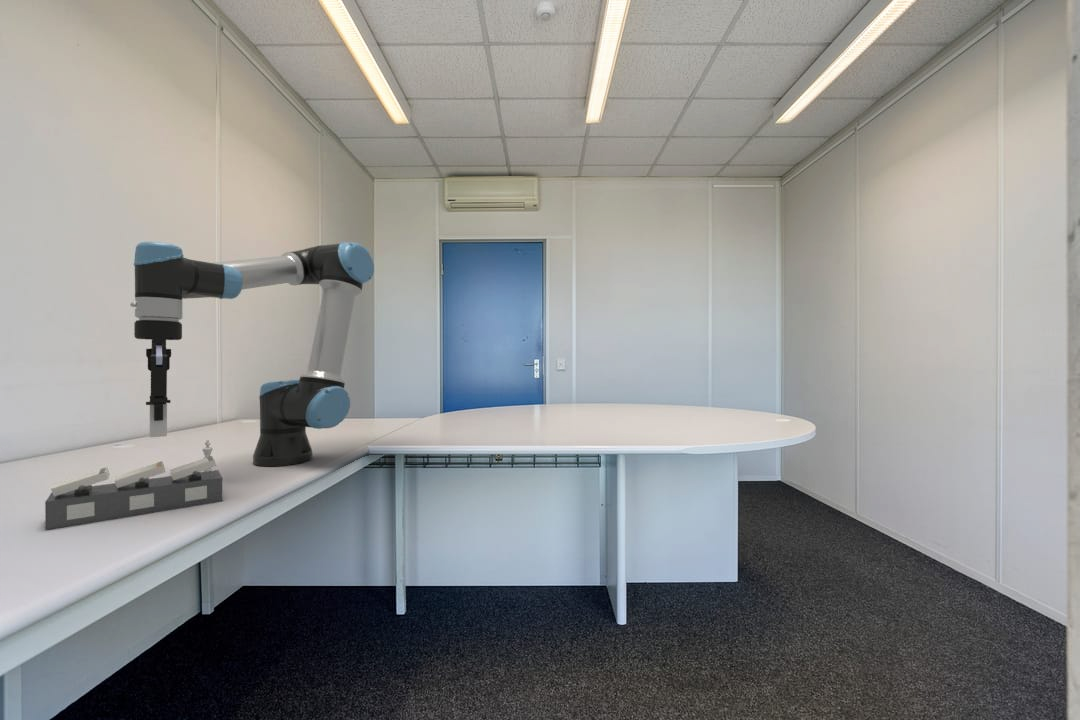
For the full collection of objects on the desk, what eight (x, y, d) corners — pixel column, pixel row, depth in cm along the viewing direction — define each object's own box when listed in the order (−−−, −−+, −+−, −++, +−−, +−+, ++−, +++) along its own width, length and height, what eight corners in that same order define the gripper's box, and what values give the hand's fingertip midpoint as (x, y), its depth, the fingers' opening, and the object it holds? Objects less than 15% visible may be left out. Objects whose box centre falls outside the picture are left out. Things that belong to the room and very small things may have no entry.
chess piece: (201, 485, 111) (201, 443, 111) (191, 482, 113) (190, 441, 113) (224, 480, 115) (223, 439, 115) (213, 477, 118) (213, 437, 118)
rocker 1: (110, 476, 93) (106, 467, 93) (109, 481, 90) (105, 471, 89) (58, 493, 88) (54, 483, 88) (54, 498, 85) (50, 488, 85)
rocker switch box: (218, 492, 106) (218, 467, 106) (222, 501, 99) (222, 474, 99) (52, 517, 89) (52, 488, 89) (45, 530, 83) (45, 498, 83)
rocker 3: (214, 463, 104) (211, 455, 103) (217, 467, 100) (214, 459, 100) (173, 478, 99) (170, 469, 99) (174, 482, 96) (170, 473, 95)
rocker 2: (165, 469, 98) (162, 460, 98) (166, 474, 95) (162, 464, 95) (119, 485, 94) (115, 475, 93) (118, 490, 90) (114, 480, 90)
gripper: (135, 320, 98) (134, 433, 98) (133, 317, 88) (133, 443, 88) (180, 322, 103) (179, 430, 103) (183, 319, 93) (183, 438, 93)
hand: (158, 436), depth 96 cm, fingers closed
